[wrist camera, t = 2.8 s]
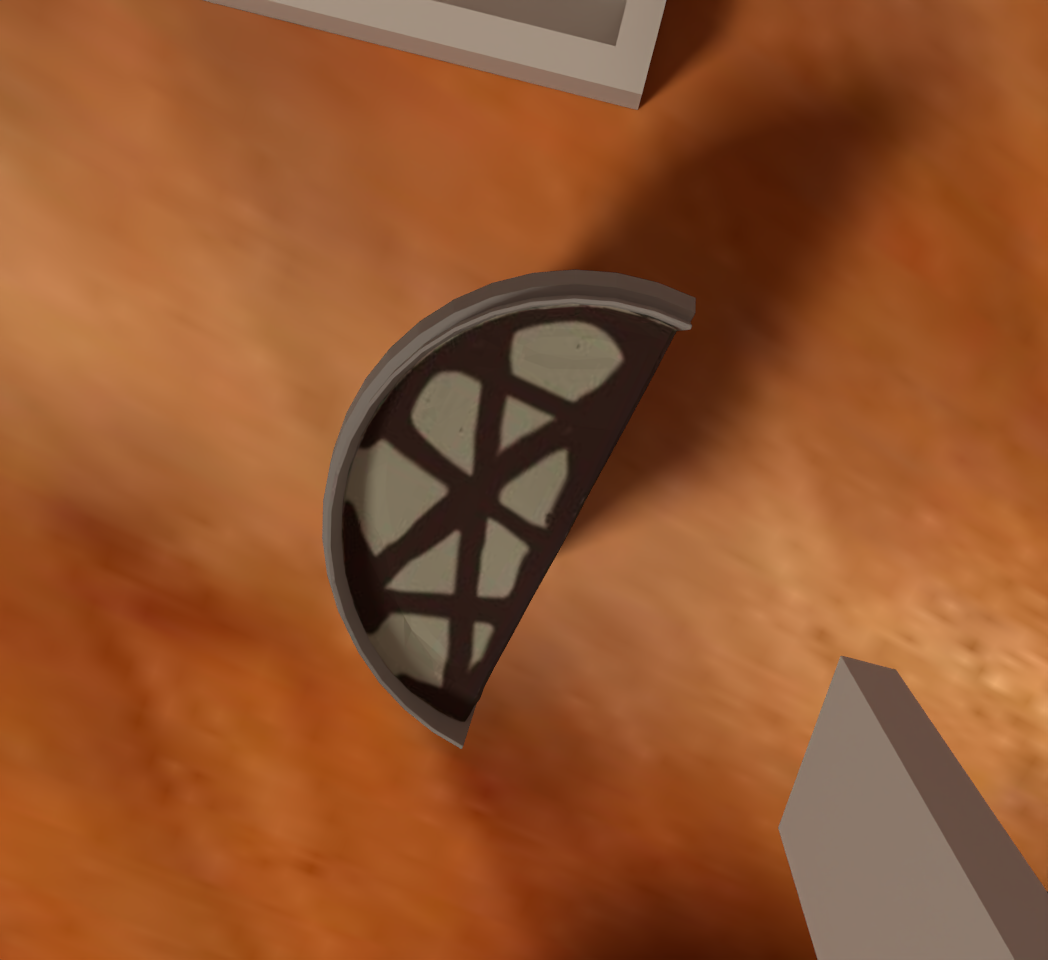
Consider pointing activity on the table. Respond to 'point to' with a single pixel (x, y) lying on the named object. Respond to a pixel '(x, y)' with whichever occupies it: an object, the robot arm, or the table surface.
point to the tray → (502, 36)
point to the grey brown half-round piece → (480, 471)
